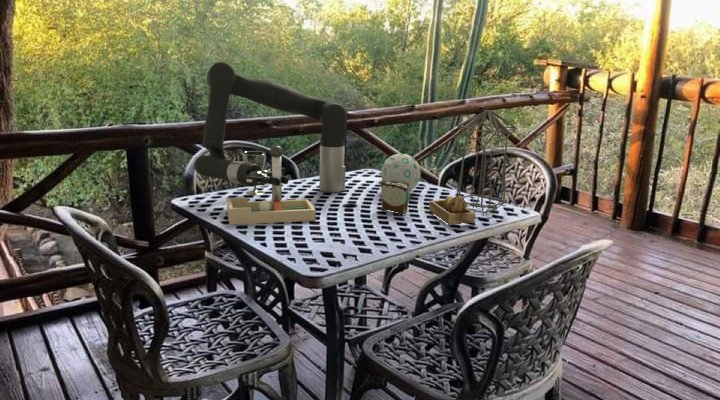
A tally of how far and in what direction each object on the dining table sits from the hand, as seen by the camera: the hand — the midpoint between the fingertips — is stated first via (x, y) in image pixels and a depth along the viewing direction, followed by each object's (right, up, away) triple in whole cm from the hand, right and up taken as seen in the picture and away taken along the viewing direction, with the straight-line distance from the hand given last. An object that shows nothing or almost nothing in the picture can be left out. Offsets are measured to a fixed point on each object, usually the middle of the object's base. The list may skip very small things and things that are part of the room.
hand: (283, 181), depth 182 cm
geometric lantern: (+64, -11, +14) cm, 67 cm away
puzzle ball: (+39, -3, +40) cm, 56 cm away
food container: (+37, -10, +16) cm, 41 cm away
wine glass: (-15, -3, +33) cm, 37 cm away
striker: (-3, -9, +4) cm, 10 cm away
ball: (-6, -8, +3) cm, 10 cm away
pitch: (-5, -11, +4) cm, 13 cm away
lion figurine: (+54, -12, +8) cm, 56 cm away
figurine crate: (+54, -12, +8) cm, 56 cm away
